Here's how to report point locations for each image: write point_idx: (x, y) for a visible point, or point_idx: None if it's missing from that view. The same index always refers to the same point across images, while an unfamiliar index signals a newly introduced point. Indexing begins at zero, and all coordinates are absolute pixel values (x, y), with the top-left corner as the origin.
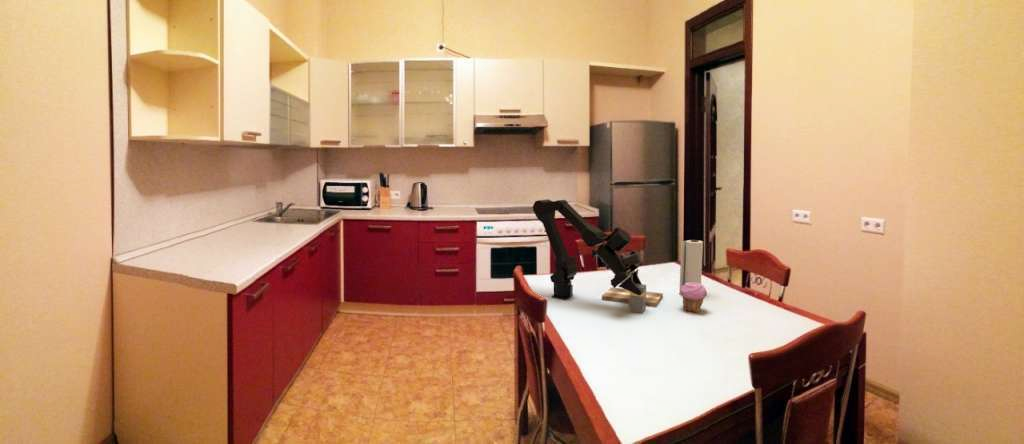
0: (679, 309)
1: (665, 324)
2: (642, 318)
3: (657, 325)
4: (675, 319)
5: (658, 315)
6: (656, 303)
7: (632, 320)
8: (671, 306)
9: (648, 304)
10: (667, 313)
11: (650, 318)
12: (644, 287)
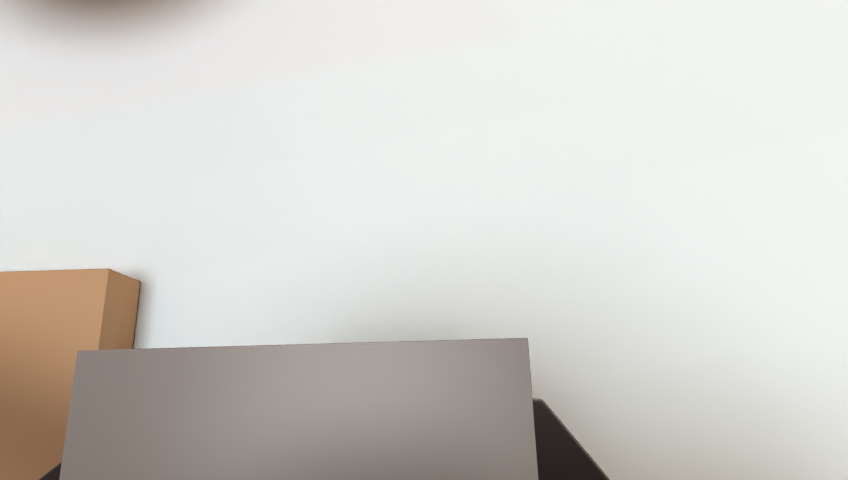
0: (132, 31)
1: (714, 59)
2: (671, 331)
3: (800, 122)
4: (496, 6)
5: (454, 185)
6: (86, 272)
7: (828, 432)
8: (45, 124)
9: None
10: (332, 112)
11: (614, 242)
12: (365, 343)
